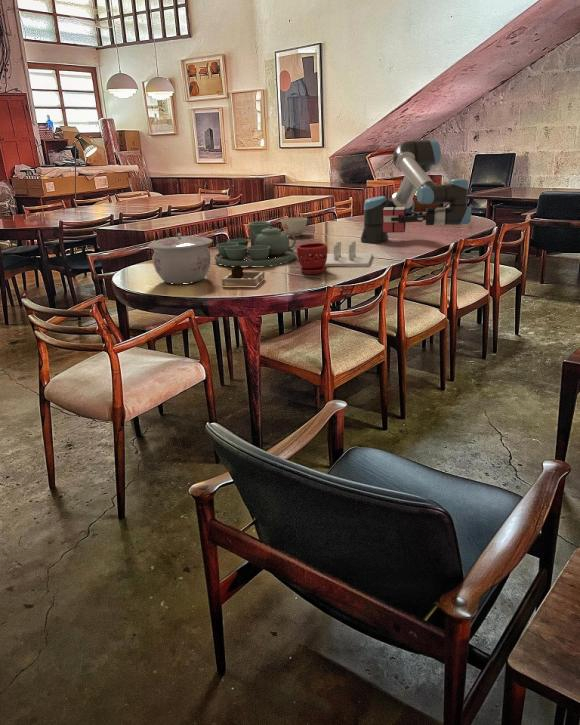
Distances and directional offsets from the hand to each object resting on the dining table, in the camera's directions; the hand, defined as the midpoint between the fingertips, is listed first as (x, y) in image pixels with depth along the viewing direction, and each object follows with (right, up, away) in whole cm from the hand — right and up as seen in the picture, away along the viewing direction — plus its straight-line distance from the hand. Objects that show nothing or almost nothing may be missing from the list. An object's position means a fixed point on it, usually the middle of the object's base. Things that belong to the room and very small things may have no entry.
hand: (384, 217), depth 264 cm
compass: (-62, -32, -20) cm, 72 cm away
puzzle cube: (+4, -6, +1) cm, 8 cm away
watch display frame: (-62, -33, -22) cm, 74 cm away
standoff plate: (-17, -18, +11) cm, 27 cm away
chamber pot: (-88, -31, -12) cm, 94 cm away
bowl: (-40, +11, +89) cm, 98 cm away
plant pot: (-33, -26, -8) cm, 43 cm away
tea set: (-60, -15, +25) cm, 66 cm away
